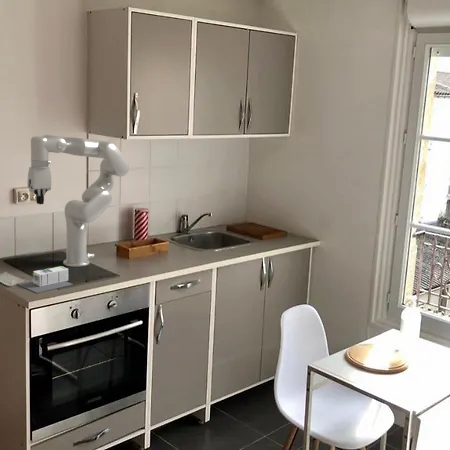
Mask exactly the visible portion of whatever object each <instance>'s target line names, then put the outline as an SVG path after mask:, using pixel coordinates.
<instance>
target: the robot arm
mask: <svg viewBox="0 0 450 450" xmlns="http://www.w3.org/2000/svg"><path fill="white" fill-rule="evenodd" d="M49 153H55V154H61V153H62V154H63V153H64V154H69V155H72V156H76V157H77V156H78V157H88V158H97V159H102V160H101V162H100V165H99V166H100V167H99V176H98V178H97V179H96V180H95V181H94V182H93V183H92V184H90V185H89V187H87V188H86V189H85V190H84V191H83V192H82V194H81V200H78V199H72V200H69V201H68V202H66V204H65V206H64V217H65V222H66V225H65V226H66V259H64V260H63V262H62V264H63V265H64V266H67V267H74V268H78V267H85V266H88V265H90V260H89V259H91V258H95V253H87V234H88V233H87V224H89V223H93V222H94V221H96V219H98V217H100V216H101V215H102V214H103V213H104V212H105V211H106V210H107V209H108V208H109V207H110V205H111V204H112V197H113V196H112V193H111V190H112V189H113V187H114V185H115V183H114V182H115V180H114V179H115V176H116V177H124V176H126V175H127V174H128V173H129V170H130V165H129V163H128V161H127V159H126V157H125V156H124V155H123V153H122V152H121V151H120V149H119V147H118V146H116V144H115V143H113V142H111V141H105V140H97V139H89V138H83V137H82V138H81V137H74V136H73V137H68V136H59V135H51V134H44V135H42V136H40V135H38V136H37V135H36V136H32V137H31V139H30V166H29V167H28V172H27V188H28V192H29V193H34V195H35V196H36V197H35V198H36V199H35V201H36V204H37V205H45V204H44V201H45V195H46V193H47V192H49V191H51V190H52V172H51V167H50V166H49V164H50V165H51V160H49Z"/></svg>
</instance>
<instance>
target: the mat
mask: <svg viewBox="0 0 450 450" xmlns="http://www.w3.org/2000/svg"><path fill="white" fill-rule="evenodd" d="M16 285H17V286H19V287H22V288H24V289H26V290H29V291H31V292H33V293H34V294H40V293H45V292H48V291H54V290H59V289H62V288H67V287H72V286H73V285H74V283H71V282H68V281H65V282H60V283H55V284H51V285H46V286H41V287H40V286H38V285H36V284H34V283H33V279H30V280H26V281H21V282H17V283H16Z"/></svg>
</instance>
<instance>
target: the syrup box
mask: <svg viewBox="0 0 450 450" xmlns="http://www.w3.org/2000/svg"><path fill="white" fill-rule="evenodd" d="M32 280H33V283H34V284H36V285H38V286H40V287H41V286H46V285H51V284H55V283H60V282H65V281H66V282H68V281H69V268H67V267H64V266H62V265H59V266H55V267H48V268H44V269H43V268H42V269H38V270H33V271H32Z"/></svg>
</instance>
